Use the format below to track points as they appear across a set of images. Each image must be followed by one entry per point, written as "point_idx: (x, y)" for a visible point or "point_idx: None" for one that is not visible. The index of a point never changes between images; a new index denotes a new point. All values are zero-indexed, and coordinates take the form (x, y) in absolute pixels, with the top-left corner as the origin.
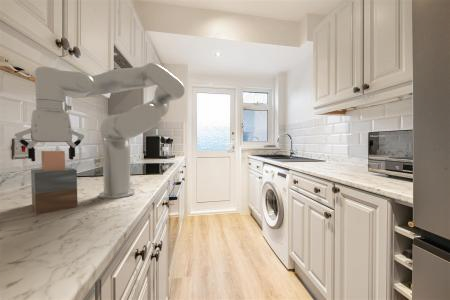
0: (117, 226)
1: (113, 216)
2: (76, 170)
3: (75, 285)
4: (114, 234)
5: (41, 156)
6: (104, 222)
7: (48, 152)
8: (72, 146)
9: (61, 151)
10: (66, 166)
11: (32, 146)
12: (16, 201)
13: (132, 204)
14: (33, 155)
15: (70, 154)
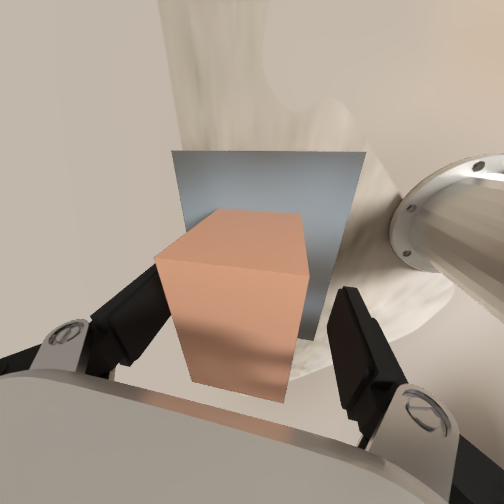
0: (302, 367)
1: (318, 344)
2: (312, 337)
3: (247, 395)
4: (290, 375)
5: (183, 239)
6: (299, 351)
7: (211, 379)
8: (367, 436)
9: (267, 397)
10: (354, 156)
11: (111, 377)
12: (191, 26)
13: (384, 324)
14: (157, 325)
15: (332, 354)
